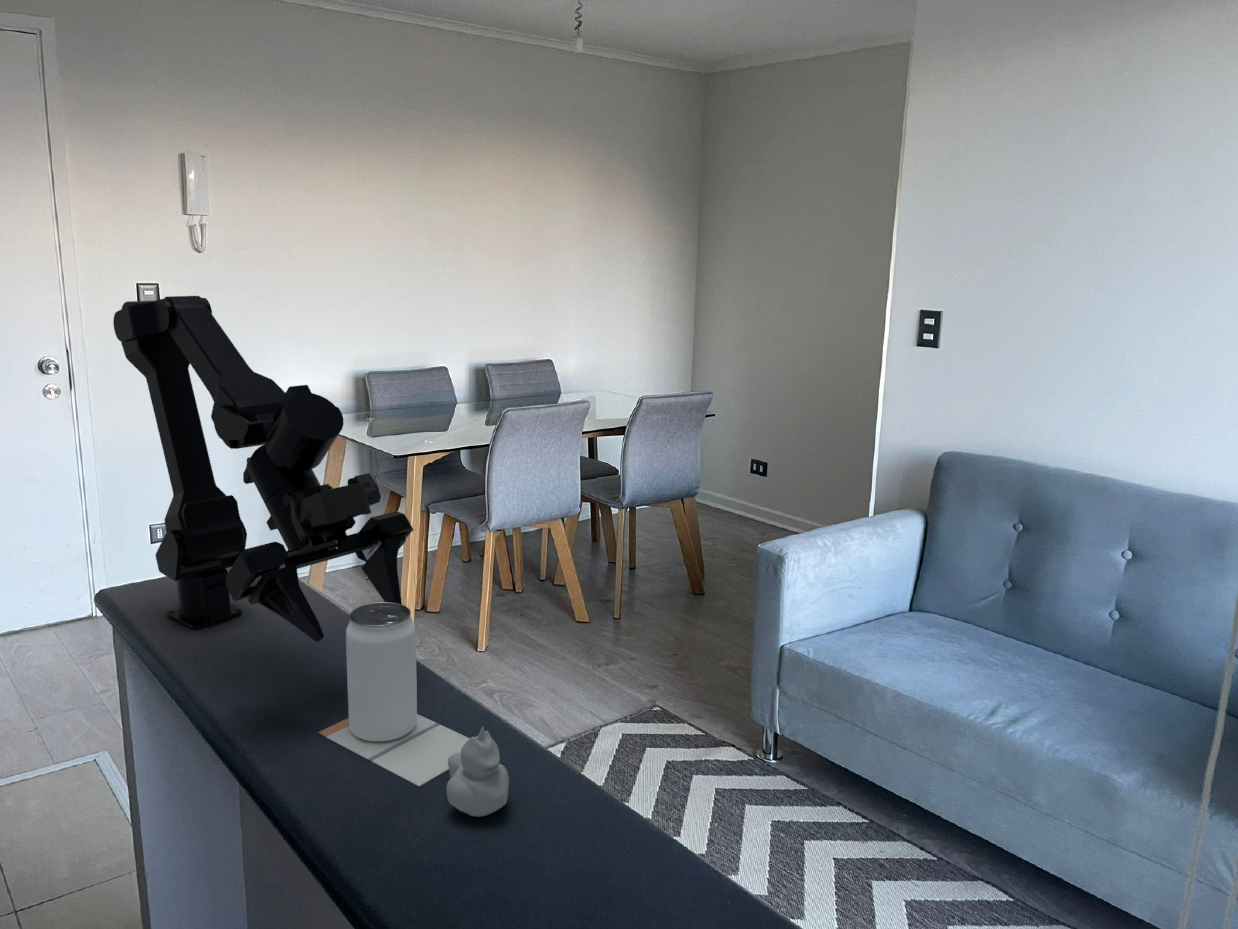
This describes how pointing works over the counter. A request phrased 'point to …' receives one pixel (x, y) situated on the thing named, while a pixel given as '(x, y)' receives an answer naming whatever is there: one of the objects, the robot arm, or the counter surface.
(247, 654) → the counter surface
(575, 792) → the counter surface
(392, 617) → the can
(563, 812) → the counter surface
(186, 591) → the robot arm
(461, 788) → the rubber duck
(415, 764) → the distance mat
